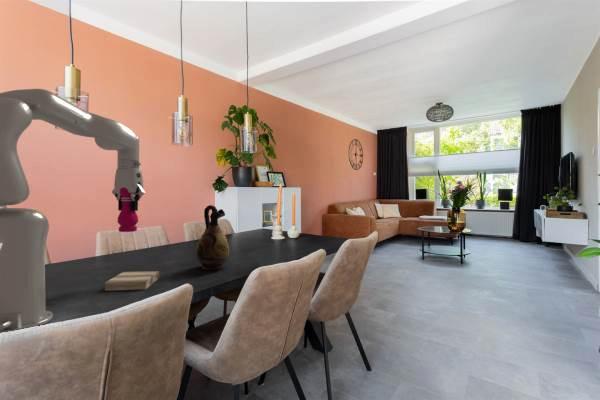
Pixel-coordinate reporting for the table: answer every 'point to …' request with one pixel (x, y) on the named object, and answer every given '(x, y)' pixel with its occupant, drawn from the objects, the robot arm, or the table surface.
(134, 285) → the birch stand
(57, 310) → the table surface
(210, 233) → the ceramic jug
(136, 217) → the pepper mill
